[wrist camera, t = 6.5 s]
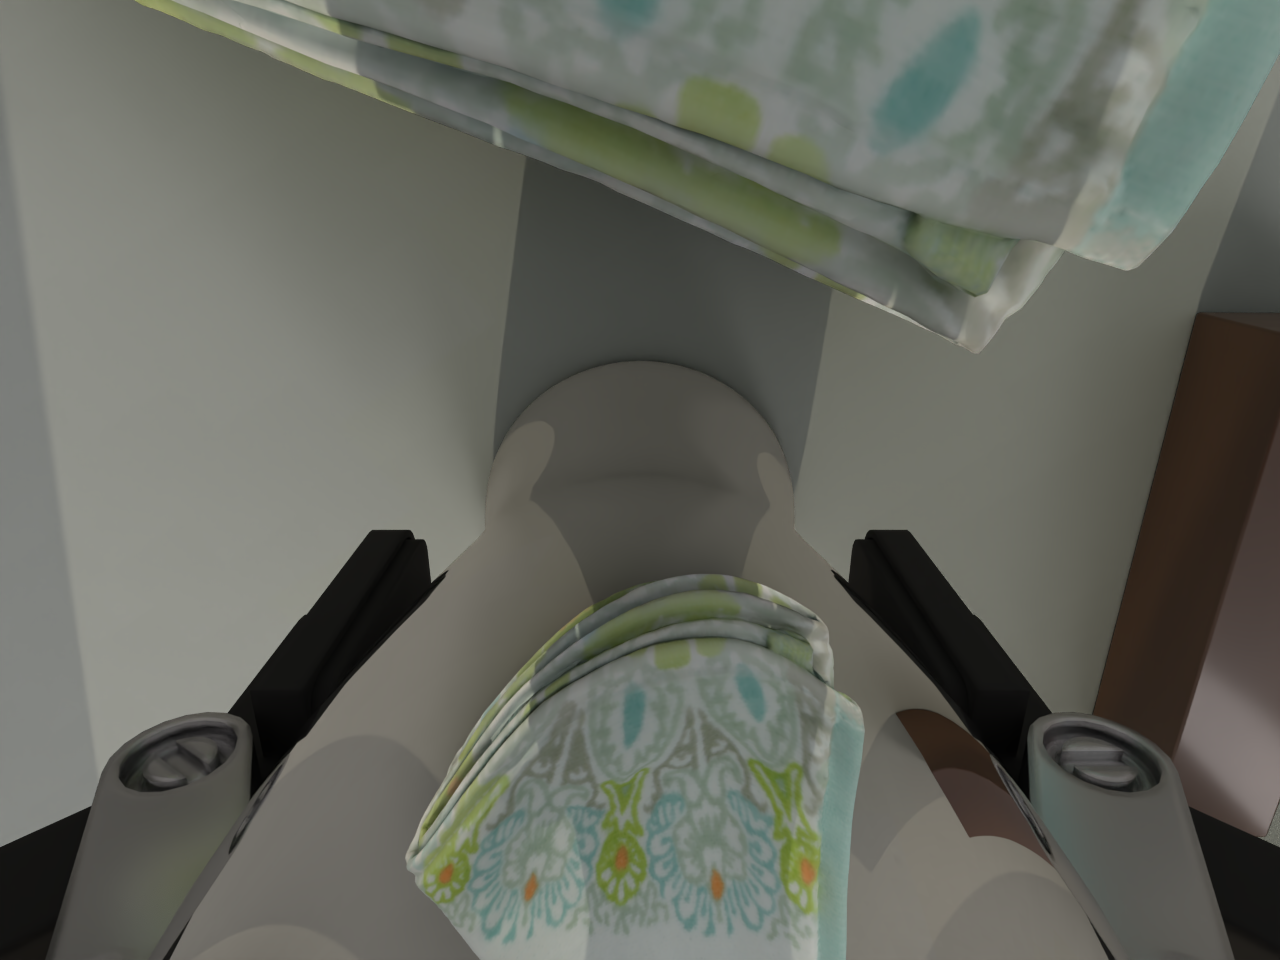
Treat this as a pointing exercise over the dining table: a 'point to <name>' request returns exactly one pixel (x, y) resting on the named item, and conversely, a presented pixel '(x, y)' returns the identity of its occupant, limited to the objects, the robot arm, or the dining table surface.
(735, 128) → the towel
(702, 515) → the beer glass
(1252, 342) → the rail
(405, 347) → the dining table surface
